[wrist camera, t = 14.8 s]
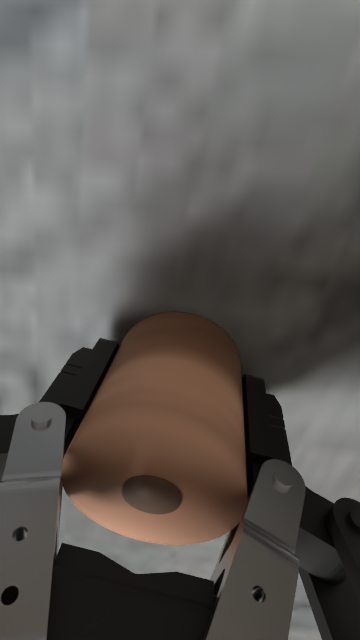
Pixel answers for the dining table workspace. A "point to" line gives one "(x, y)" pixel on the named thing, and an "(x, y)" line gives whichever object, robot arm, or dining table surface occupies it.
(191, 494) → the terracotta bead
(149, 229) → the dining table surface
